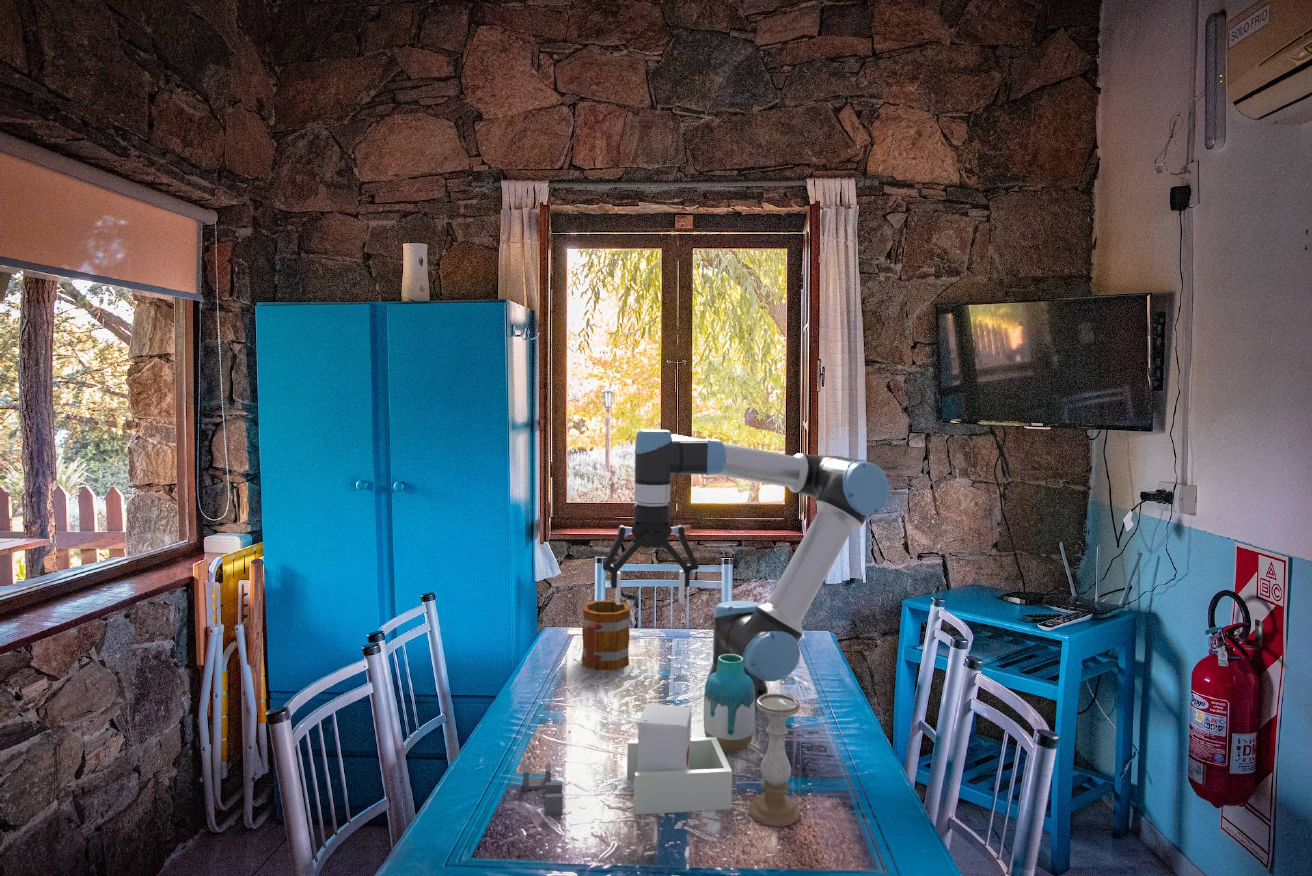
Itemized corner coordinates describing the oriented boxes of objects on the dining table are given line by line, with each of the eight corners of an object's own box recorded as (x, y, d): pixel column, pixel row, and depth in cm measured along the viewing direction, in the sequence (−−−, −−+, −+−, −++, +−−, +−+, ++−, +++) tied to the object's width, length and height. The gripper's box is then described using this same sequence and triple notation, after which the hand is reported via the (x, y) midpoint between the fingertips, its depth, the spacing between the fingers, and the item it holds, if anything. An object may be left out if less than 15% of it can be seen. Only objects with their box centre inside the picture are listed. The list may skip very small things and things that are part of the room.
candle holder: (765, 832, 131) (769, 715, 129) (740, 805, 139) (743, 695, 137) (809, 821, 134) (813, 707, 133) (781, 796, 142) (785, 688, 141)
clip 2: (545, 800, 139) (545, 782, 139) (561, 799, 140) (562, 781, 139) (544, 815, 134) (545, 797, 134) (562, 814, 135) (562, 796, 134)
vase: (758, 741, 164) (761, 653, 163) (747, 764, 154) (750, 670, 153) (710, 733, 167) (712, 646, 166) (696, 755, 157) (699, 663, 156)
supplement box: (685, 808, 137) (687, 726, 136) (635, 803, 139) (637, 722, 138) (690, 782, 146) (692, 705, 145) (643, 778, 148) (645, 701, 147)
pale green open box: (714, 771, 151) (716, 736, 150) (730, 809, 138) (732, 771, 137) (627, 775, 148) (627, 740, 148) (634, 814, 135) (635, 775, 135)
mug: (590, 650, 217) (591, 598, 216) (636, 656, 214) (637, 602, 212) (563, 675, 198) (564, 618, 197) (613, 682, 195) (614, 623, 194)
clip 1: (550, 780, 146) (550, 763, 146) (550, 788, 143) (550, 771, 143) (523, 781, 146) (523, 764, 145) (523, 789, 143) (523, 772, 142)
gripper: (706, 500, 168) (704, 596, 170) (591, 500, 165) (589, 598, 166) (713, 506, 161) (711, 606, 162) (593, 506, 157) (591, 608, 159)
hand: (649, 602), depth 164 cm, fingers open, 13 cm apart
